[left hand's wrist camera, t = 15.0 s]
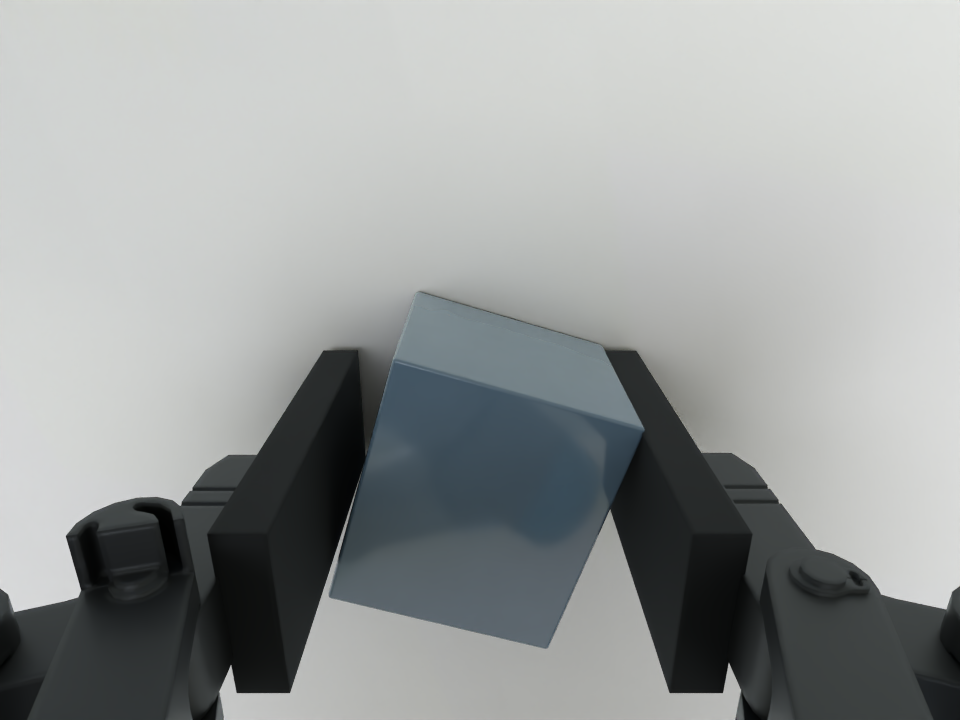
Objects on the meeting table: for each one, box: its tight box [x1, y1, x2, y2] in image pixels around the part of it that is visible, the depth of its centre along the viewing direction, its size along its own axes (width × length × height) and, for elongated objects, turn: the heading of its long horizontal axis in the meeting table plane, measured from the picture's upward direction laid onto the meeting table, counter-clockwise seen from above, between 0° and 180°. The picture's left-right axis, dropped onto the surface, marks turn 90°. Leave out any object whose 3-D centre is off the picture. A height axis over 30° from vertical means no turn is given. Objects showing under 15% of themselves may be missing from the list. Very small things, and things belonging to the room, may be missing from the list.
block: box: [329, 292, 645, 649], centre depth 13 cm, size 5×4×4 cm
